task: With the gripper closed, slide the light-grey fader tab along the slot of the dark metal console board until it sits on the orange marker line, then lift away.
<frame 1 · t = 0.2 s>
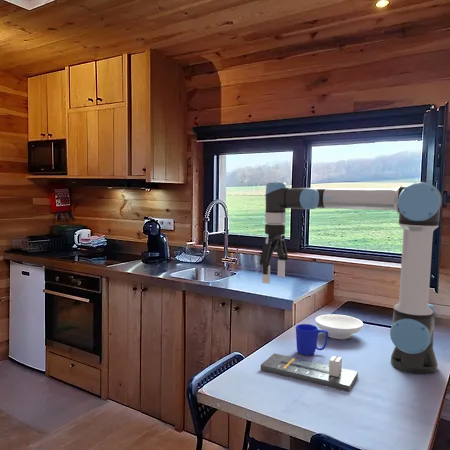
hand: (273, 279, 162), 28 cm above the table, fingers open, 13 cm apart
bowl: (338, 337, 181), on the table
mug: (311, 353, 162), on the table
console: (308, 373, 144), on the table
fader: (335, 365, 139), point 5 cm above the table, slide at 0.0 cm
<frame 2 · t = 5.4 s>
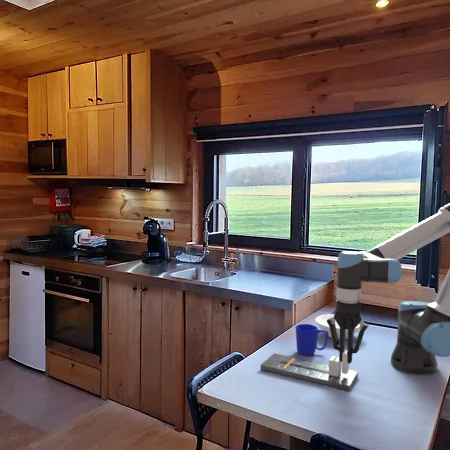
hand: (345, 371, 138), 4 cm above the table, fingers closed
fader: (335, 365, 139), point 5 cm above the table, slide at 0.1 cm, touching gripper
everything else where it was.
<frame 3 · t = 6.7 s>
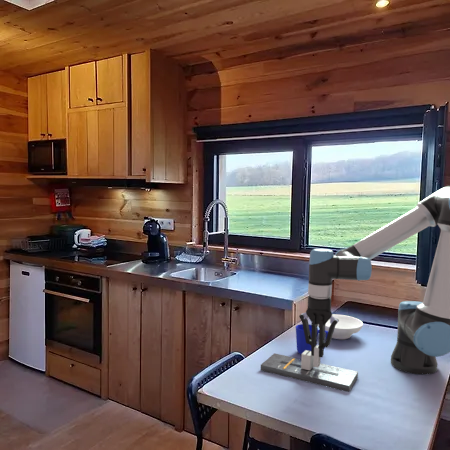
hand: (316, 365, 142), 4 cm above the table, fingers closed
fader: (307, 359, 144), point 5 cm above the table, slide at 9.4 cm, touching gripper
everything else where it was.
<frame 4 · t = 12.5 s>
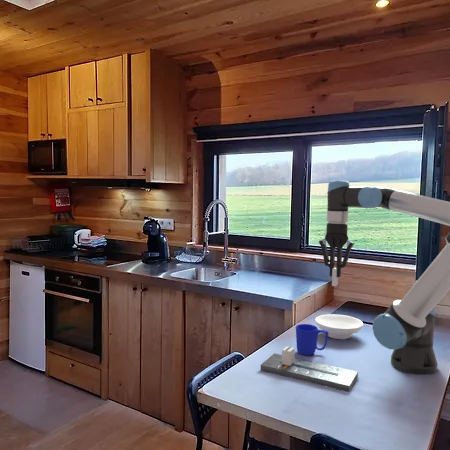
hand: (334, 285, 160), 26 cm above the table, fingers closed
fader: (288, 355, 147), point 5 cm above the table, slide at 16.4 cm
everything else where it was.
at the end: fader slide at 16.4 cm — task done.
